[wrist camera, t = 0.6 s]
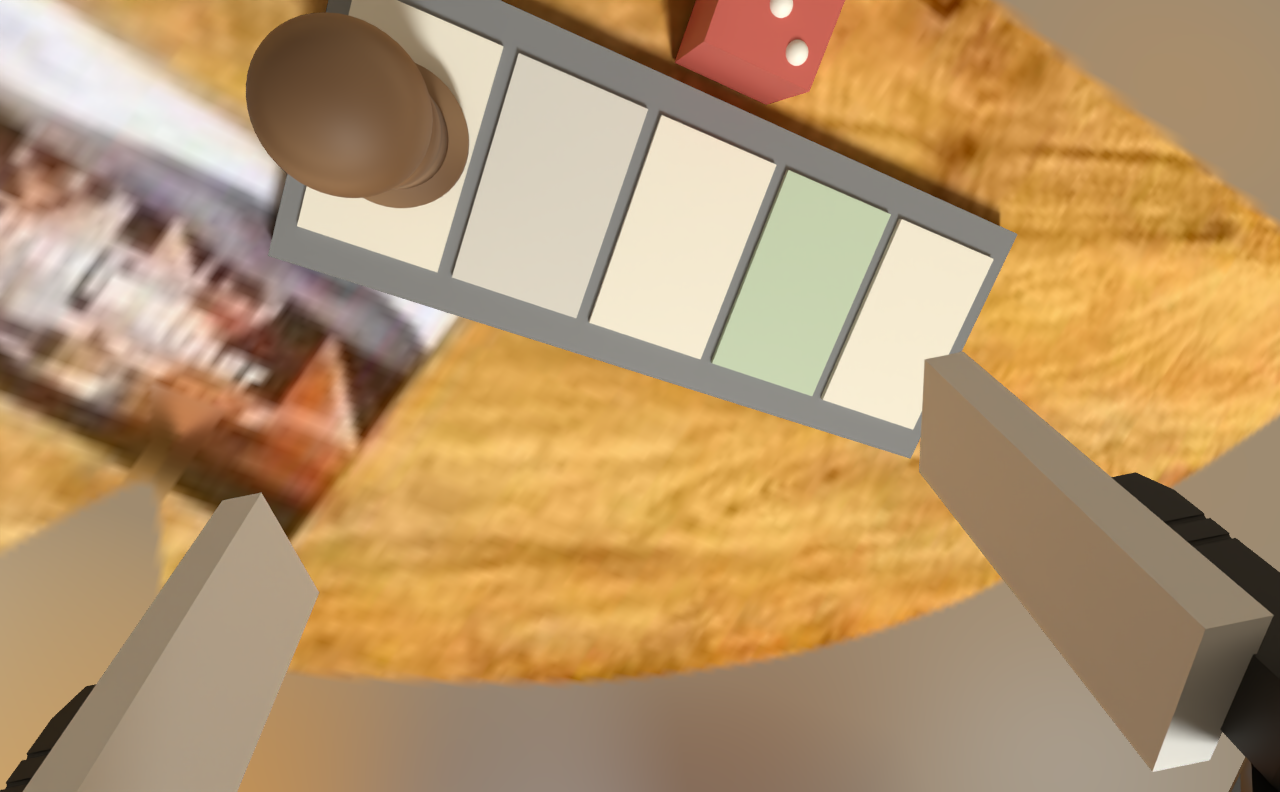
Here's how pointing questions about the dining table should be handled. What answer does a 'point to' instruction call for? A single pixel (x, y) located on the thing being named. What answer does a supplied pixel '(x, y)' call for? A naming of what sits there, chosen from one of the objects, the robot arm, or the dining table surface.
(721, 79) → the red die
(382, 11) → the game board
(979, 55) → the dining table surface
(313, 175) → the pawn
